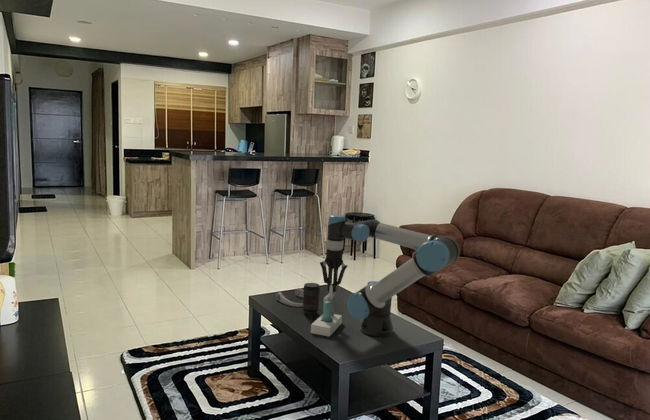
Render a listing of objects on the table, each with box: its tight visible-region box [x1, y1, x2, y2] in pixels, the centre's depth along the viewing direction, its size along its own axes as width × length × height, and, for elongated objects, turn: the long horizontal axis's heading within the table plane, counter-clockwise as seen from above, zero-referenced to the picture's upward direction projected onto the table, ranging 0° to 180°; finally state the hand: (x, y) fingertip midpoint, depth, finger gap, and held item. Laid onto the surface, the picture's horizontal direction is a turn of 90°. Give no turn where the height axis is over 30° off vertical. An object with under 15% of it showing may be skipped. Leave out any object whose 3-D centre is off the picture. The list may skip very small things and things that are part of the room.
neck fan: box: [276, 287, 304, 308], centre depth 269 cm, size 18×17×5 cm
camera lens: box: [302, 282, 321, 317], centre depth 251 cm, size 8×8×15 cm
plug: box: [322, 300, 333, 323], centre depth 232 cm, size 5×5×11 cm
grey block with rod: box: [310, 295, 343, 337], centre depth 232 cm, size 9×18×14 cm, turn 161°
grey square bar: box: [322, 291, 337, 302], centre depth 233 cm, size 2×13×2 cm, turn 160°
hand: (331, 298), depth 231 cm, fingers closed
